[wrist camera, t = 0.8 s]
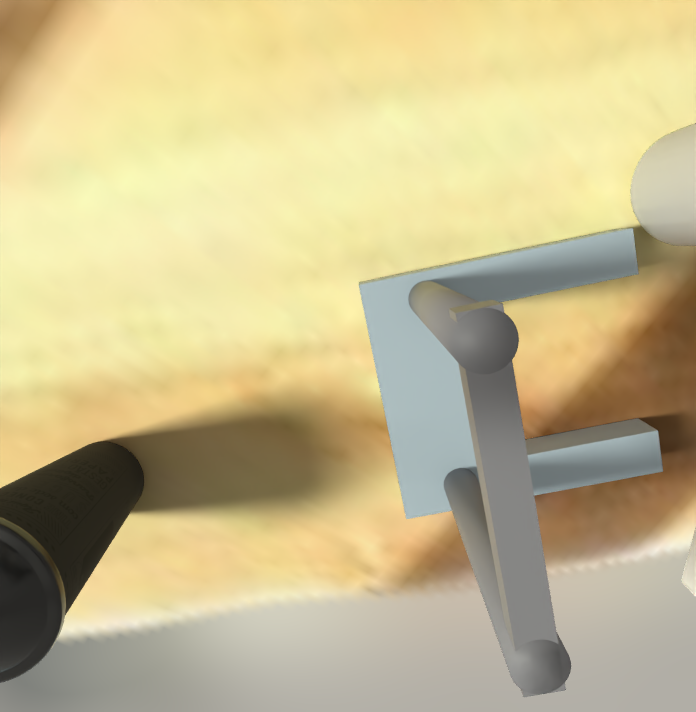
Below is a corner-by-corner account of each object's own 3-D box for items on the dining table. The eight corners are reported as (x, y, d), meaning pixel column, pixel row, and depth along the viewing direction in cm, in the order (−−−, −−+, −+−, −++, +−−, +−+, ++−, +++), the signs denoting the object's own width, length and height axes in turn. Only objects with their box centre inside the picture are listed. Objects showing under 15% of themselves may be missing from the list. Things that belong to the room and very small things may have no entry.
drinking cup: (119, 396, 37) (-154, 564, 17) (189, 496, 38) (9, 761, 18) (21, 458, 38) (-346, 687, 18) (93, 554, 39) (-180, 869, 19)
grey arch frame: (613, 229, 35) (880, 208, 17) (642, 456, 37) (903, 647, 19) (358, 282, 35) (358, 315, 18) (403, 501, 38) (442, 724, 20)
